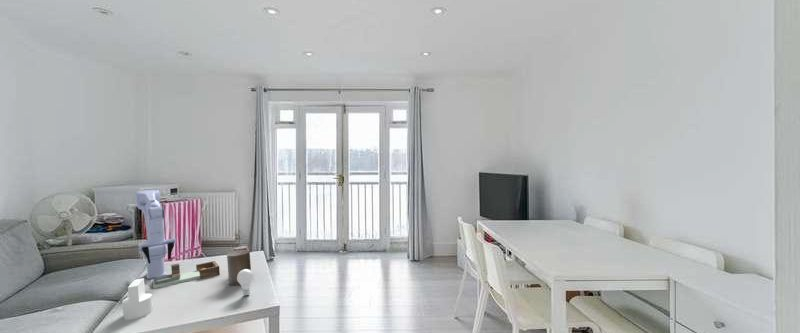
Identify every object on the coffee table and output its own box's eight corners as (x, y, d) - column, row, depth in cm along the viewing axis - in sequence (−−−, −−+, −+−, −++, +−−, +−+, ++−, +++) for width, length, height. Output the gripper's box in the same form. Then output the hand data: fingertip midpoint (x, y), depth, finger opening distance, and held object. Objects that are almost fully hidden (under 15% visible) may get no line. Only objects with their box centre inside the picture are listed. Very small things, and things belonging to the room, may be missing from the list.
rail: (154, 280, 166) (153, 277, 166) (177, 275, 171) (177, 272, 171) (154, 284, 160) (154, 282, 159) (179, 279, 165) (179, 277, 165)
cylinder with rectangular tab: (127, 311, 136) (125, 280, 135) (155, 306, 139) (153, 276, 139) (120, 321, 127) (117, 289, 127) (149, 316, 131) (147, 284, 130)
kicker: (171, 276, 169) (170, 264, 169) (179, 275, 171) (178, 262, 170) (172, 279, 165) (171, 266, 165) (180, 277, 167) (179, 265, 166)
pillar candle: (256, 279, 164) (254, 248, 164) (236, 287, 156) (234, 253, 155) (243, 276, 169) (241, 246, 169) (224, 283, 161) (221, 251, 161)
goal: (196, 272, 178) (196, 264, 178) (215, 268, 183) (214, 260, 183) (200, 278, 169) (199, 270, 169) (219, 274, 174) (219, 266, 174)
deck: (152, 282, 166) (152, 279, 166) (198, 272, 178) (198, 270, 178) (153, 288, 158) (153, 285, 158) (201, 277, 170) (201, 275, 170)
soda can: (244, 275, 171) (243, 249, 170) (231, 275, 172) (229, 249, 171) (253, 270, 178) (252, 245, 177) (241, 270, 179) (239, 245, 178)
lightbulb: (238, 299, 142) (236, 273, 142) (237, 294, 148) (236, 268, 147) (255, 296, 145) (253, 270, 145) (254, 291, 151) (252, 265, 150)
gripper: (138, 236, 157) (140, 266, 157) (176, 230, 166) (178, 259, 166) (137, 234, 162) (140, 263, 163) (174, 228, 171) (176, 256, 172)
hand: (159, 261), depth 165 cm, fingers open, 7 cm apart
